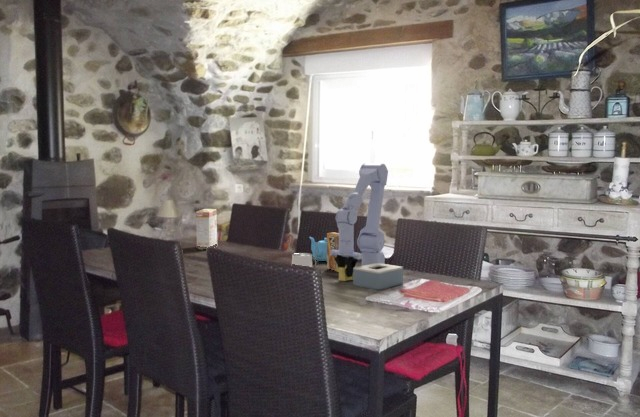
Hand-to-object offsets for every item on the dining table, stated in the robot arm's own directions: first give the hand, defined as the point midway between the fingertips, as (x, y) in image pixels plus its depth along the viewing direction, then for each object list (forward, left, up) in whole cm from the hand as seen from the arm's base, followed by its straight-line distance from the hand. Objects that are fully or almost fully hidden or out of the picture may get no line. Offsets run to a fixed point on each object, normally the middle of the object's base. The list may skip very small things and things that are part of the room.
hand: (346, 275), depth 234 cm
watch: (+15, -6, -2) cm, 16 cm away
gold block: (0, 0, -1) cm, 1 cm away
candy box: (-12, -16, -2) cm, 20 cm away
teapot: (-25, -35, -2) cm, 43 cm away
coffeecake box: (-10, -104, -2) cm, 104 cm away
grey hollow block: (-2, +14, -2) cm, 14 cm away
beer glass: (+33, +10, -2) cm, 35 cm away
